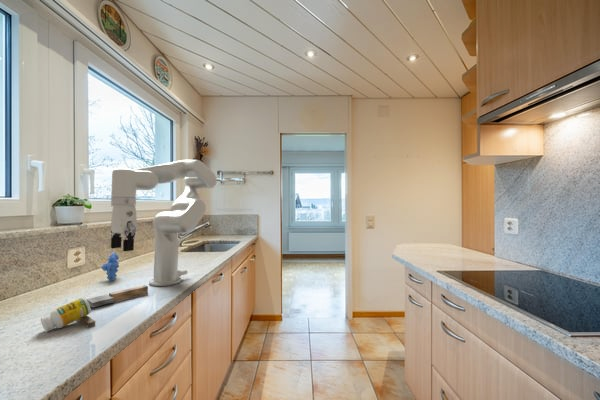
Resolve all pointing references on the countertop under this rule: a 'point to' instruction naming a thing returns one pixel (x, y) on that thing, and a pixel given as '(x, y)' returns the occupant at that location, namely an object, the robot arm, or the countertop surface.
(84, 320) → the stop strip
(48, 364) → the countertop surface
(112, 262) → the grapes
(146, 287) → the turner
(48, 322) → the supplement bottle
